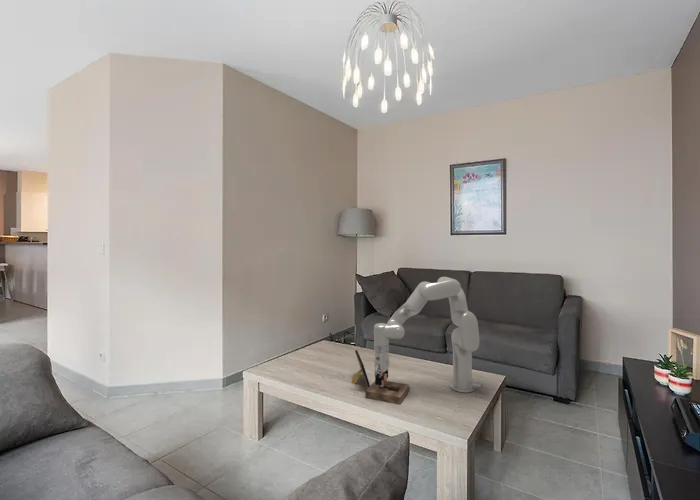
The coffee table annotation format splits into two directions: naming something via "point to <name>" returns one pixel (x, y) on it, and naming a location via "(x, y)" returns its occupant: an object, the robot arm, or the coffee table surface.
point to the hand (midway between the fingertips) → (381, 381)
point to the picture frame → (360, 371)
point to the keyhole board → (388, 392)
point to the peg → (383, 379)
